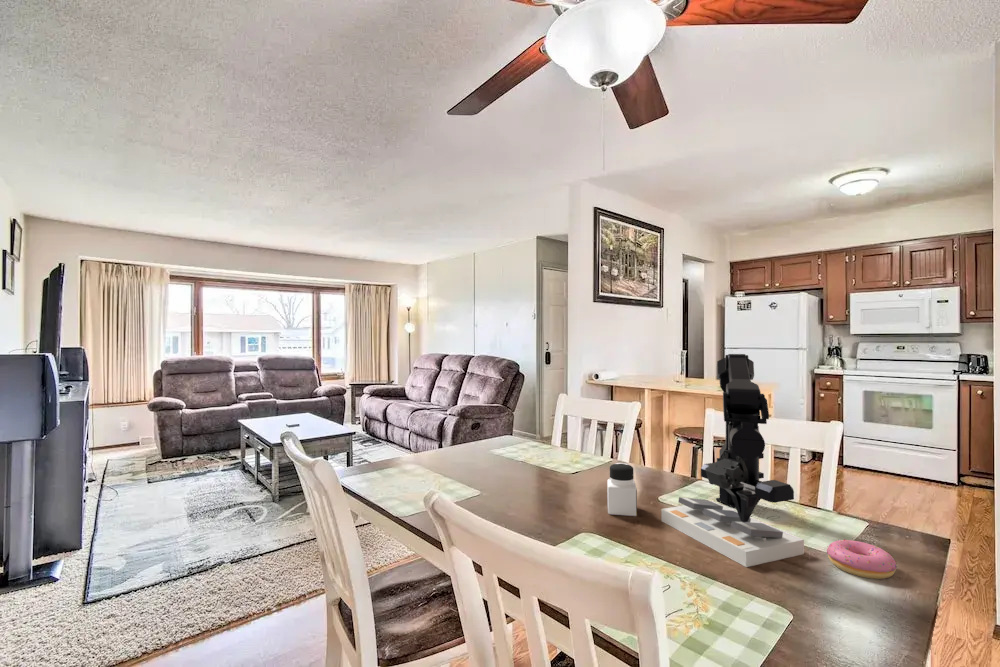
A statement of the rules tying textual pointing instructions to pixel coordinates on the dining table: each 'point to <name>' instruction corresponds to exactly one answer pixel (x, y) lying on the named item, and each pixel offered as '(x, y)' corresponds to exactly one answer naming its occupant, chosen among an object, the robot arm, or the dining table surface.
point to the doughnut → (861, 559)
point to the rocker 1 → (699, 504)
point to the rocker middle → (723, 515)
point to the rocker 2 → (756, 529)
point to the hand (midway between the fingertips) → (744, 521)
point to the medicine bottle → (621, 490)
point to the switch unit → (732, 537)
